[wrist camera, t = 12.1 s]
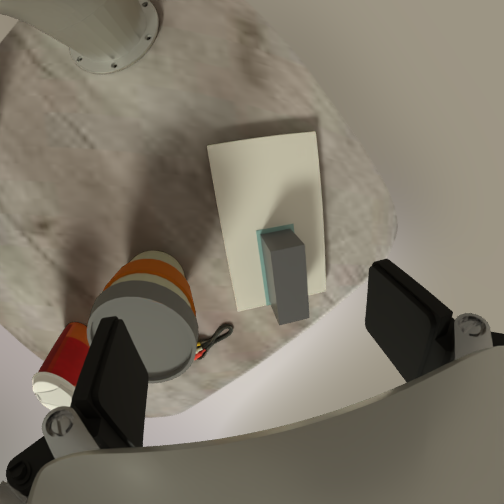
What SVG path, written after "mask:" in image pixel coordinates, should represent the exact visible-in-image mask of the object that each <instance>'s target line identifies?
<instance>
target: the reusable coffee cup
mask: <svg viewBox="0 0 504 504" xmlns="http://www.w3.org/2000/svg"><path fill="white" fill-rule="evenodd" d="M112 316H117V317H118V319H122V320H123V321H124V323H125V325H126V328H127V330H128V332H129V334H130V336H131V339H132V341H133V343H134V345H135V347H136V349H137V351H138V353H139V355H140V357H141V359H142V361H143V363H144V365H145V367H146V369H147V372H148V376H149V381H148V383H161V382H165V381H169V380H172V379H174V378H176V377H178V376H180V375H181V374H183V373H184V372H185V371H186V370H187V369H188V368H189V367H190V366H191V364H192V362H193V360H194V358H195V354H196V349H197V342H198V323H197V320H196V311H195V307H194V303H193V298H192V294H191V290H190V286H189V284H188V282H187V280H186V279H185V276H184V272H183V269H182V267H181V265H180V264H179V263H178V261H177V260H175V259H174V258H173V257H172V256H170V255H169V254H166V253H164V252H160V251H146V252H143V253H140V254H138V255H137V256H135V257H134V258H133V259H132V260H131V261H130V262H129V263H127V264H126V265H124V266H123V267H122V268H121V269H120V270H119V271H118V272H117V273H116V274H115V276H114V277H113V278H112V279H111V280H110V281H109V283H108V284H107V285H106V286H105V288H104V290H103V292H102V293H101V294H100V295H99V296H98V297H97V299H96V301H95V303H94V305H93V307H92V310H91V314H90V317H89V321H88V326H87V339H88V343H89V346H90V345H91V343H92V340H93V338H94V335H95V333H96V330H97V328H98V325H99V323H100V320H101V319H102V318H105V317H112Z"/></svg>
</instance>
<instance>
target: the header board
mask: <svg viewBox="0 0 504 504" xmlns="http://www.w3.org/2000/svg"><path fill="white" fill-rule="evenodd" d="M207 151H208V157H209V163H210V169H211V174H212V180H213V186H214V191H215V197H216V202H217V208H218V213H219V219H220V224H221V230H222V235H223V240H224V245H225V251H226V256H227V261H228V266H229V271H230V276H231V281H232V286H233V291H234V296H235V301H236V306H237V310H238V311H242V310H247V309H252V308H256V307H261V306H265V305H271V304H270V302H269V295H268V288H267V280H266V273H265V266H264V259H263V252H262V245H261V238H260V234H265V233H270V232H275V231H280V230H285V229H291V230H292V231H293V232H294V233H295V234H296V235H297V237H298V238H299V239H300V240H301V241H302V242H303V243H304V244H305V254H306V268H307V284H308V296H309V295H313V294H317V293H321V292H325V291H326V272H325V244H324V224H323V208H322V193H321V181H320V169H319V159H318V149H317V139H316V132H311V131H310V132H299V133H289V134H280V135H272V136H264V137H256V138H249V139H243V140H236V141H230V142H224V143H218V144H212V145H207Z"/></svg>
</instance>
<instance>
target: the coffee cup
mask: <svg viewBox="0 0 504 504" xmlns="http://www.w3.org/2000/svg"><path fill="white" fill-rule="evenodd" d="M89 348H90V346H89V343H88V339H87V326H85V325H84V324H82V323H78V322H72V323H70V324H68V325H67V326H66V328H65V329H64V330H63V332H62V333H61V335H60V336H59V338H58V340H57V341H56V343H55V344H54V346H53V348H52V349H51V351H50V353H49V354H48V356H47V358H46V359H45V361H44V363H43V365H42V366H41V368H40V370H39V372H38V373H36V374H35V375H34V376H33V379H32V383H33V386H32V389H33V392H35V395H36V397H37V398H38V399H39V400H40V402H41V403H42V404H43V405H44V406H45V407H47V408H48V409H50V410H53V409H55V408H57V407H61V406H68V407H70V405H71V402H72V400H71V399H72V396H73V393H74V390H75V387H76V384H77V381H78V378H79V375H80V372H81V369H82V367H83V364H84V361H85V358H86V356H87V353H88V350H89Z"/></svg>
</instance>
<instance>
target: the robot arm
mask: <svg viewBox="0 0 504 504" xmlns="http://www.w3.org/2000/svg"><path fill="white" fill-rule="evenodd" d="M145 6H146V7H145ZM0 14H3V15H7V16H10V17H13V18H16V19H18V20H20V21H23V22H25V23H27V24H29V25H31V26H33V27H34V28H36V29H38V30H40V31H42V32H43V33H45V34H47V35H49V36H51V37H52V38H54V39H56V40H58V41H59V42H61V43H63V44H65V45H66V46H68V47H69V51H70V55H71V57H72V59H73V61H74V62H75V63H76V65H78V66H79V67H80V68H81V69H83V70H85V71H87V72H90V73H94V74H110V73H114V72H118V71H121V70H123V69H125V68H127V67H129V66H131V65H132V64H134V63H136V62H137V61H138V60H139V59H140V58H142V57H143V56H144V55H145V53H146V52H147V51H148V50H149V49H150V47H151V46H152V44H153V43H154V41H155V38H156V36H157V33H158V28H159V18H158V14H157V11H156V9H155V7H154V6H153V4H152V3H151V2H150V1H149V0H0ZM148 38H151V39H150V40H147V39H148ZM81 59H82V61H80V60H81ZM115 65H117V67H116V68H114V66H115ZM452 314H453V312H452V311H451V310H450V309H449V308H448V307H446V306H445V305H444V304H443V303H441V301H439V300H438V299H437V298H436V297H435V296H434V295H432V294H431V293H430V292H429V291H428V290H426V289H425V288H424V287H423V286H421V285H420V284H419V283H418V282H416V281H415V280H414V279H413V278H412V277H410V276H409V275H408V274H407V273H405V272H404V271H403V270H401V269H400V268H399V267H398V266H396V265H395V264H394V263H392V262H391V261H390V260H388V259H384V260H380V261H376V262H374V263H373V264H372V266H371V267H370V268H369V277H368V293H367V306H366V317H365V326H366V329H367V330H368V332H369V333H370V335H371V336H372V337H373V338H374V339H375V341H376V342H377V343H378V345H379V346H380V348H381V349H382V350H383V351H384V353H385V354H386V355H387V357H388V358H389V359H390V361H391V362H392V363H393V364H394V366H395V367H396V369H397V370H398V371H399V373H400V374H401V375H402V377H403V378H404V379H405V381H406V382H407V383H405V384H403V385H401V386H398V387H396V388H394V389H392V390H389V391H387V392H384V393H382V394H379V395H377V396H375V397H372V398H369V399H367V400H364V401H361V402H359V403H356V404H353V405H350V406H347V407H345V408H342V409H339V410H336V411H333V412H330V413H326V414H323V415H320V416H317V417H313V418H310V419H307V420H303V421H299V422H296V423H292V424H289V425H284V426H280V427H277V428H272V429H268V430H263V431H258V432H254V433H249V434H244V435H238V436H233V437H227V438H222V439H215V440H208V441H201V442H193V443H184V444H174V445H163V446H150V447H143V432H144V420H145V409H146V399H147V390H148V381H149V376H148V372H147V369H146V367H145V365H144V363H143V361H142V359H141V357H140V355H139V353H138V351H137V349H136V347H135V345H134V343H133V341H132V339H131V336H130V334H129V332H128V330H127V328H126V325H125V323H124V321H123V320H122V319H118V317H117V316H112V317H105V318H102V319H101V320H100V323H99V325H98V328H97V330H96V333H95V335H94V338H93V340H92V343H91V345H90V348H89V350H88V353H87V356H86V358H85V361H84V364H83V367H82V369H81V372H80V375H79V378H78V381H77V384H76V387H75V390H74V393H73V396H72V399H71V400H72V402H71V405H70V407H68V406H61V407H57V408H55V409H53V410H51V411H50V412H49V413H48V414H47V415H46V417H45V418H44V421H43V423H42V431H43V434H44V436H43V437H42V438H40V439H39V440H38V441H36V442H35V443H34V444H32V445H31V446H30V447H28V448H27V449H25V450H24V451H23V452H21V453H20V454H18V455H17V456H16V457H14V458H13V459H12V460H11V461H10V462H9V464H8V466H7V470H6V477H7V482H4V481H2V482H1V484H0V504H504V334H502V333H495V332H491V331H490V327H489V324H488V322H487V321H486V320H485V319H483V318H482V317H481V316H478V315H476V314H472V313H465V314H462V315H459V316H458V317H457V318H456V319H455V320H454V319H453V318H452Z"/></svg>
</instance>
